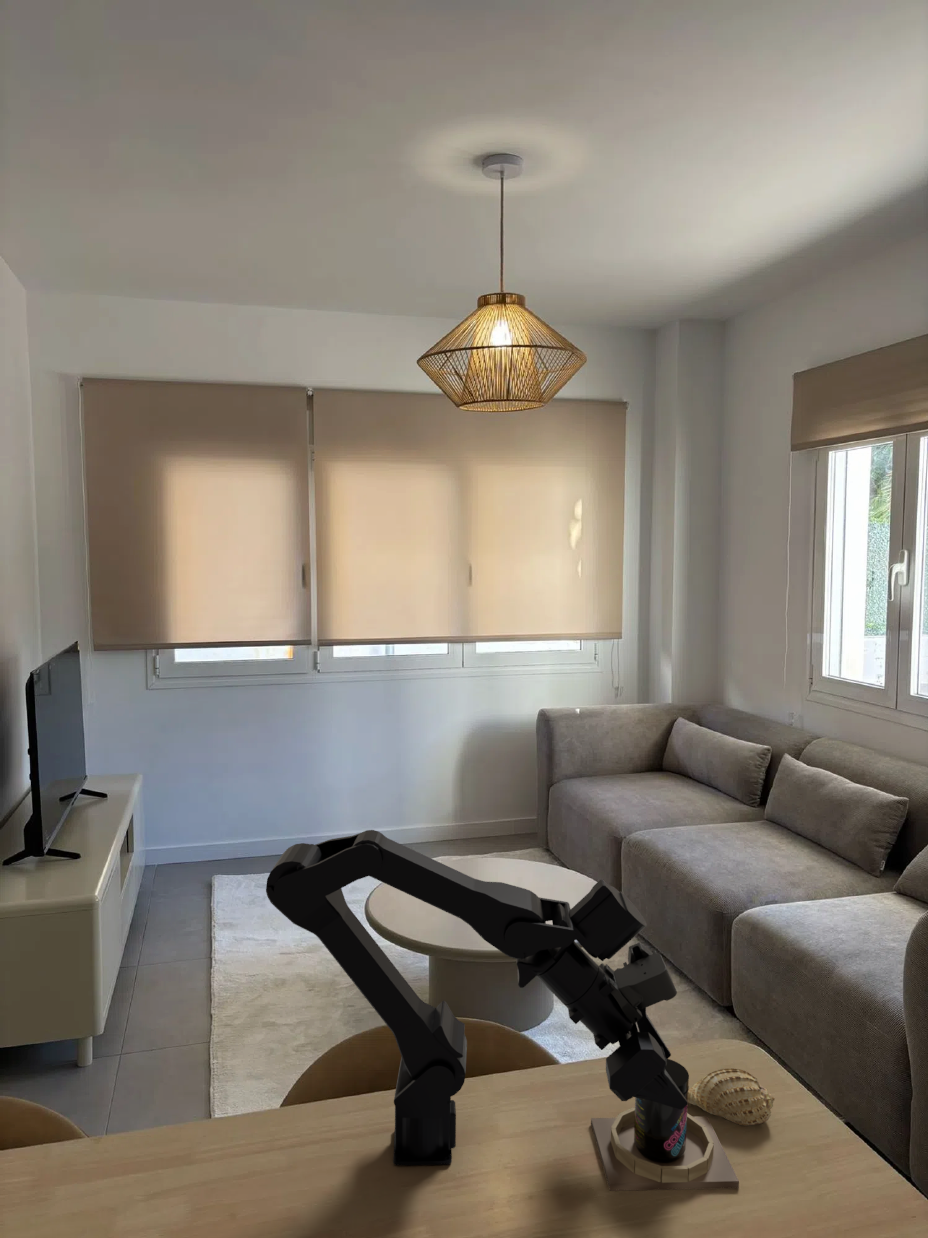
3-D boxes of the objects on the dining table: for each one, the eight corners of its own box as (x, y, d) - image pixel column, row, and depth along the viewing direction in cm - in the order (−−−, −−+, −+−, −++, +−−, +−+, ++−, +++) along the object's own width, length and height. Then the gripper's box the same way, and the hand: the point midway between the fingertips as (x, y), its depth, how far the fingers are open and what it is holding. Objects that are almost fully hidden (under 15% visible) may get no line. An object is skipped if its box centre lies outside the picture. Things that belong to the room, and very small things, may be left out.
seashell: (707, 1156, 107) (786, 1125, 106) (686, 1111, 107) (766, 1079, 106) (694, 1114, 115) (768, 1085, 114) (675, 1073, 115) (749, 1043, 114)
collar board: (609, 1190, 97) (610, 1170, 97) (590, 1124, 108) (591, 1106, 108) (738, 1188, 98) (739, 1168, 97) (707, 1122, 109) (707, 1104, 108)
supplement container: (657, 1172, 99) (660, 1093, 98) (622, 1141, 104) (625, 1066, 103) (697, 1155, 102) (700, 1078, 101) (661, 1125, 107) (664, 1052, 106)
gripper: (647, 976, 91) (753, 1084, 92) (620, 902, 110) (709, 992, 111) (566, 1048, 92) (672, 1154, 93) (554, 963, 111) (642, 1052, 112)
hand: (676, 1080), depth 102 cm, fingers open, 9 cm apart
